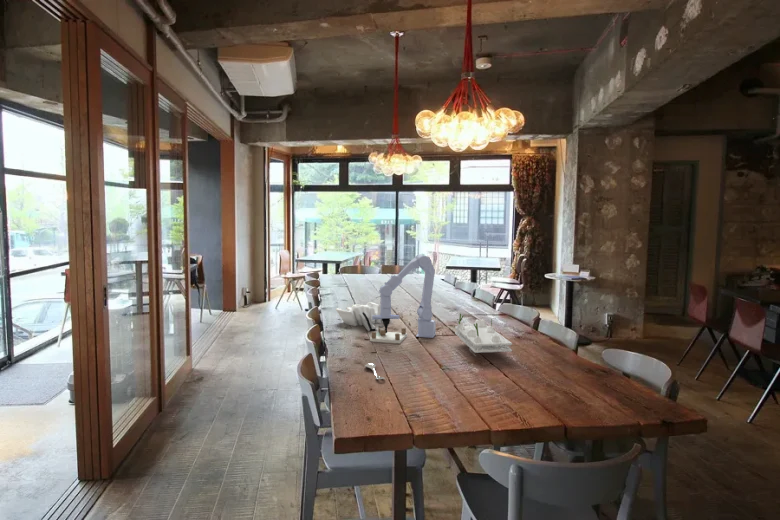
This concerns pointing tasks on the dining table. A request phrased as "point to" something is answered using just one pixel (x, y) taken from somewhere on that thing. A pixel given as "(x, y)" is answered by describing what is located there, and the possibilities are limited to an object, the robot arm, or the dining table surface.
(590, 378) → the dining table surface
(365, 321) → the hinge
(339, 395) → the dining table surface
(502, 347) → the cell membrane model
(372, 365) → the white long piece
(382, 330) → the hammer
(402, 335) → the stool seat
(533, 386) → the dining table surface
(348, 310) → the wavy white extrusion
